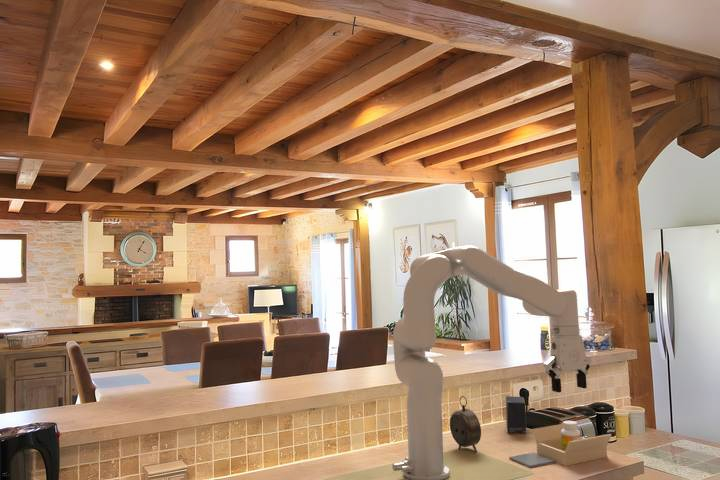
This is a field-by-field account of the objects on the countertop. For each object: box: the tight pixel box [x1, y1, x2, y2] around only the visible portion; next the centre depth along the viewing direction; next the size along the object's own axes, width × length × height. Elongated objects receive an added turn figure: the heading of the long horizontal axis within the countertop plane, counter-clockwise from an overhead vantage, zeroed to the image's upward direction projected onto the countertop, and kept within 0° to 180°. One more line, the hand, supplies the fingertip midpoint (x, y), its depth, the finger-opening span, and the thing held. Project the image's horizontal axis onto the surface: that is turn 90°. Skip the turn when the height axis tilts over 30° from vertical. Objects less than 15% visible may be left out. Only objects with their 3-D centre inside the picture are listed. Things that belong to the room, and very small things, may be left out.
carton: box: [530, 423, 612, 466], centre depth 173 cm, size 16×16×7 cm
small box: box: [505, 395, 527, 435], centre depth 203 cm, size 11×6×10 cm, turn 168°
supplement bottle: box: [561, 420, 582, 451], centre depth 173 cm, size 5×5×10 cm
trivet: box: [508, 451, 556, 469], centre depth 169 cm, size 9×9×1 cm
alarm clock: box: [449, 395, 482, 453], centre depth 183 cm, size 11×5×16 cm, turn 27°
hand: (569, 389), depth 174 cm, fingers open, 9 cm apart
